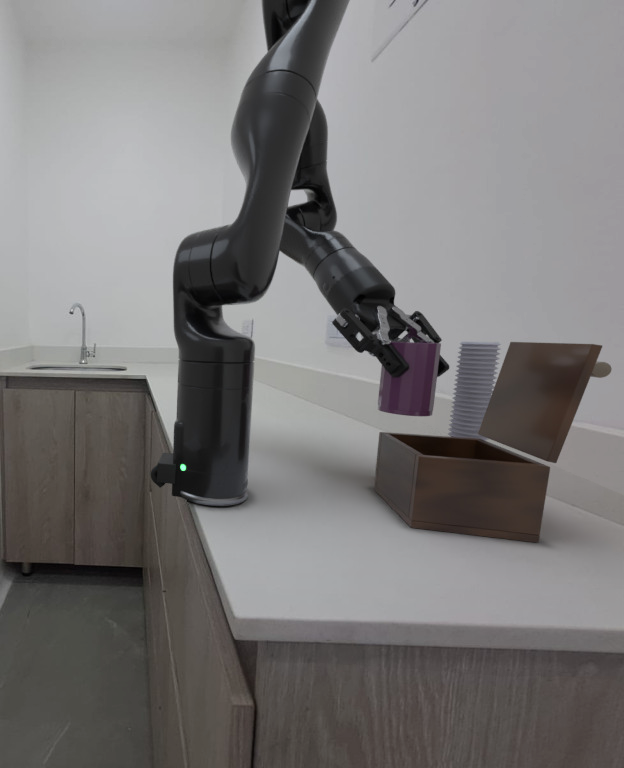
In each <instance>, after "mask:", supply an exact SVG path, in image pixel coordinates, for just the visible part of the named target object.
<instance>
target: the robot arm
mask: <svg viewBox="0 0 624 768" xmlns="http://www.w3.org/2000/svg"><path fill="white" fill-rule="evenodd" d="M350 1H351V0H261V13H262V23H263V30H264V38H265V44H266V53H265V54H264V56H263V57H262V58H261V59H260V60H259V62H258V63H257V64H256V66H255V67H254V68H253V70H252V71H251V73H250V74H249V76H248V78H247V79H246V82H245V84H244V86H243V89H242V90H241V91H242V92H241V93H240V96H239V97H240V98H239V100H238V104H237V107H236V110H235V114H234V116H233V120H232V124H231V129H230V146H231V151H232V154H233V157H234V160H235V162H236V164H237V166H238V169H239V170H240V172H241V174H242V177H243V180H244V182H245V191H244V196H243V200H242V204H241V207H240V210H239V213H238V215H237V217H236V218H235V219H234V221H233V222H232V223H230V224H225V225H221V226H216V227H213V228H208V229H203V230H200V231H195V232H193V233H190V234H187V235H186V236H185V237H183V239H182V240H181V241H180V243H179V245H178V247H177V249H176V252H175V255H174V260H173V266H172V308H173V309H172V310H173V311H172V315H173V317H172V318H173V333H174V338H175V342H176V344H177V348H178V363H177V365H178V366H177V389H176V390H177V391H176V392H177V395H176V420H175V421H174V424H173V446H172V447H173V449H172V452H162V454H161V456H160V457H159V460H158V462H157V464H156V465H155V466H154V467H153V468H152V469H151V471H150V479H151V481H152V482H153V483H154V484H155V485H156V486H157V487H158V488H160V489H161V488H162V487H164V486H165V485H166V484H171V496H172V497H176V498H181V499H184V500H186V501H188V502H190V503H194V504H199V505H204V506H211V507H225V506H227V507H228V506H234V505H235V506H236V505H238V504H241V503H243V502H245V501H246V500H247V498H248V491H249V489H248V484H249V479H248V477H249V462H250V445H251V444H250V443H251V442H250V441H251V429H252V427H251V426H252V412H253V411H252V410H253V394H254V377H255V361H256V360H255V359H256V358H255V357H256V343H255V341H254V340H253V338H252V337H250V336H248V335H246V334H243V333H241V332H239V331H237V330H235V329H234V328H232V327H231V326H230V325H228V323H226V321H225V319H224V311H223V306H236V305H237V306H238V305H248V304H253V303H256V302H258V301H259V300H261V299H262V298H263V297H264V296H265V295H266V294H267V292H268V290H269V289H270V288H271V285H272V283H273V280H274V277H275V273H276V269H277V265H278V261H279V255H280V253H282V254H283V255H284V256H286V257H287V258H288V259H291V260H292V261H293V262H295V263H297V264H298V265H300V266H302V267H303V268H305V270H306V271H307V273H308V274H309V276H310V277H311V278H312V280H313V281H314V282H315V284H316V286H317V288H318V290H319V292H320V293H321V295H322V296H323V298H324V299H325V301H326V302H327V303H328V304H329V306H330V307H331V309H332V310H333V311H334V313H335V314H336V315H337V316H335V318H334V319H333V320H332V321H331V322H332V326H334V327H335V328H336V330H337V331H338V332H339V333H340V334H341V335H342V336H343V338H344V339H345V340H346V341H347V342H348V343H349V344H350V346H351V347H352V348H353V349H354V351H356V352H357V353H360V354H362V353H364V352H367V353H368V355H370V356H371V357H375V358H376V359H377V360H378V362H379V363H380V364H381V367H382V366H384V368H385V370H386V371H387V372H388V373H389V374H390V376H391V377H400V376H402V375H403V374H404V373H405V372H406V371H408V370H409V365H408V363H407V362H406V361H405V360H404V358H403V357H402V356H401V355H400V353H399V352H398V351H397V350H396V348H395V347H394V346H393V345H389V344H390V342H411V340H412V342H415V343H441V342H442V341H443V339H442V337H441V336H440V335H439V334H438V333H437V331H436V330H435V329H434V327H433V325H431V323H430V322H429V320H428V319H427V318H426V316H425V315H424V314H423V313H422V312H420V311H419V310H414V312H413V313H412V314H406V313H405V311H403V309H400V308H399V307H398V306H396V305H395V297H396V289H395V287H394V286H393V284H391V282H390V281H389V280H388V279H387V278H386V277H385V276H384V275H383V273H381V271H380V270H379V269H378V268H377V267H376V266H375V265H374V264H373V262H372V261H371V260H370V259H368V258H367V256H365V255H364V254H363V253H361V252H360V251H359V250H358V249H357V248H356V247H355V246H354V244H352V242H351V241H350V240H349V239H348V238H347V237H346V235H344V234H343V233H341V232H340V231H337V230H335V229H336V226H337V223H338V212H337V207H336V204H335V201H334V196H333V192H332V187H331V183H330V179H329V175H328V174H329V173H328V143H329V126H328V120H327V116H326V114H325V110H324V108H323V106H322V104H321V102H320V100H319V99H318V96H319V93H320V88H321V84H322V80H323V77H324V73H325V69H326V65H327V63H328V59H329V56H330V53H331V49H332V47H333V44H334V42H335V39H336V37H337V34H338V31H339V29H340V26H341V24H342V21H343V19H344V16H345V14H346V11H347V9H348V7H349V4H350ZM292 191H303V192H304V193H305V195H306V199H307V200H306V201H304V202H301V203H296V204H293V205H289V202H290V197H291V192H292ZM404 332H406V334H405V335H404V336H403V337H401V338H400V336H401V335H403V333H404ZM358 334H360V337H361V339H360V340H359V339H358V338H357V335H358ZM449 370H450V364H449V363H448V361H446V360H445V358H443V356H442V355H441V354H440V357H439V365H438V373H437V378H439V377H441V376H442V375H444V374H445V373H446V372H448V371H449Z"/></svg>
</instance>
